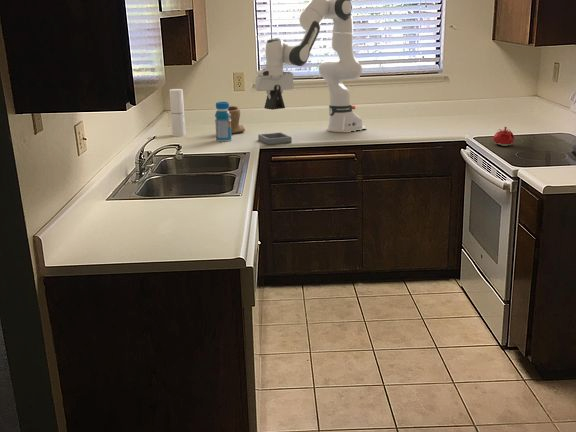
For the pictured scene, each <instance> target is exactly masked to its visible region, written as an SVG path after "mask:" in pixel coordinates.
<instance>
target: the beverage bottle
mask: <svg viewBox="0 0 576 432" xmlns="http://www.w3.org/2000/svg"><path fill="white" fill-rule="evenodd" d="M229 106H230V103H229V102H228V101H217V102H216V103H215V108H216V111H215V114H214V117H215V118H214V119H215V120H214V122H215V137H216V138H215V139H216V141H217V142H224V143H225V142H229V141H230V142H231V141H232V139H233V137H232V133H231V118H230V116H231V114H230V112H229V111H228V109H229Z"/></svg>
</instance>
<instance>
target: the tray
mask: <svg viewBox="0 0 576 432" xmlns="http://www.w3.org/2000/svg"><path fill="white" fill-rule="evenodd" d="M257 135H258V137H257V139H258V141H259V142H261V143H264V144H266V145H268V146H271V145H272V146H273V145H281V144H291V143H292V136H290V135H288V134H286V133H283V132H281V131H280V132H272V133H262V134H257Z"/></svg>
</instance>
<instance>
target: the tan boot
mask: <svg viewBox="0 0 576 432" xmlns="http://www.w3.org/2000/svg"><path fill="white" fill-rule="evenodd" d="M228 111H229V112H230V114H231V116H230V118H231V134H238V133H243V132H245V131H246V129H245V127H244V125H242V124H241V125H240V118H241V108H239V107H238V106H236V105H229V109H228Z"/></svg>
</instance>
